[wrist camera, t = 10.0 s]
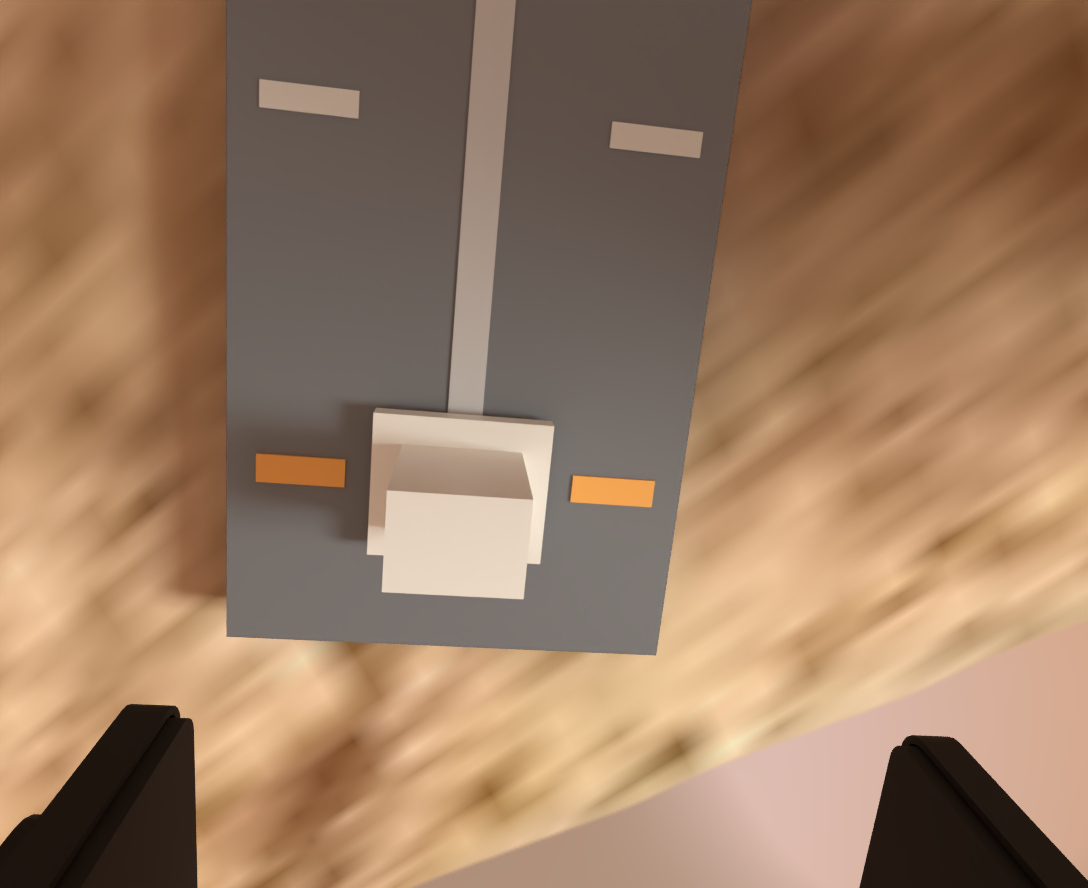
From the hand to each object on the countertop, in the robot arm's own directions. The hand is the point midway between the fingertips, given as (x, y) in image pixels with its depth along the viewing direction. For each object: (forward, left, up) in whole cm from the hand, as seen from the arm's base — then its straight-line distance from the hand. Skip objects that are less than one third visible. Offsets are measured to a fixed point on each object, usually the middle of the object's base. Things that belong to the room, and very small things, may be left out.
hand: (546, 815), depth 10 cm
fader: (+1, +1, -18) cm, 18 cm away
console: (+1, -5, -21) cm, 22 cm away
